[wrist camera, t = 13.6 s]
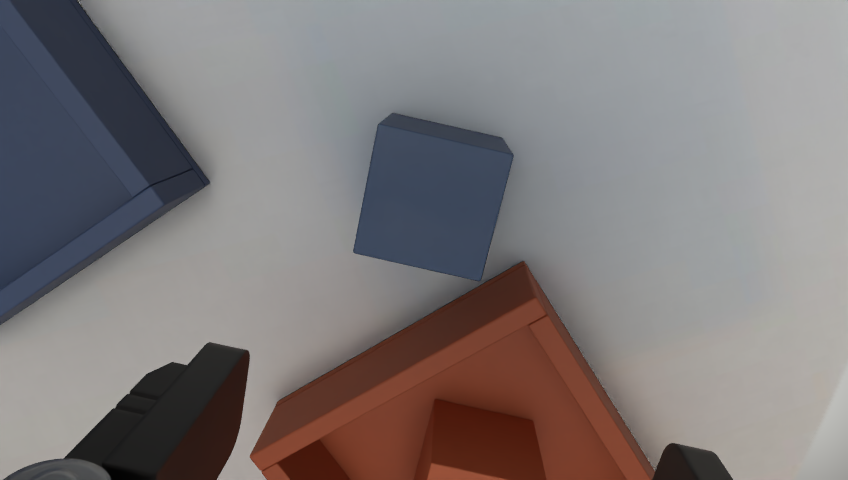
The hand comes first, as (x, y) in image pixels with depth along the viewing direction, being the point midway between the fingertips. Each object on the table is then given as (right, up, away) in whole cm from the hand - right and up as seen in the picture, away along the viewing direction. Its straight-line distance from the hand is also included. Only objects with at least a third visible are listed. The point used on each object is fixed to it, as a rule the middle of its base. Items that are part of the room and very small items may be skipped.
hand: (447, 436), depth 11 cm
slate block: (0, +6, +12) cm, 14 cm away
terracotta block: (+2, -6, +15) cm, 16 cm away
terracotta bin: (+2, -5, +16) cm, 17 cm away
